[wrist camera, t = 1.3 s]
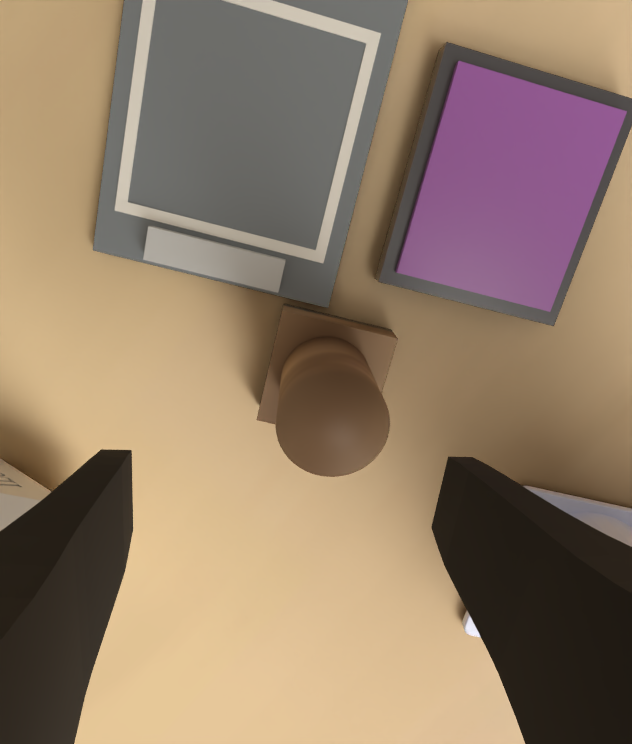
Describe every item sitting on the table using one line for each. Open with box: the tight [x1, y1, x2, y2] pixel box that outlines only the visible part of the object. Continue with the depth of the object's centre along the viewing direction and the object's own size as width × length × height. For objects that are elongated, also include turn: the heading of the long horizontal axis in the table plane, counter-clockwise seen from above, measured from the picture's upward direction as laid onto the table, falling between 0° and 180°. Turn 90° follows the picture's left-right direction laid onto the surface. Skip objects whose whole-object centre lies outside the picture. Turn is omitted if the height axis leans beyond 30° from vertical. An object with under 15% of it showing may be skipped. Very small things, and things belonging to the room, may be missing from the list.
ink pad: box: [375, 42, 632, 326], centre depth 19 cm, size 7×8×1 cm
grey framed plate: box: [93, 0, 408, 308], centre depth 18 cm, size 9×11×1 cm
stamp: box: [257, 304, 398, 477], centre depth 18 cm, size 4×4×6 cm
